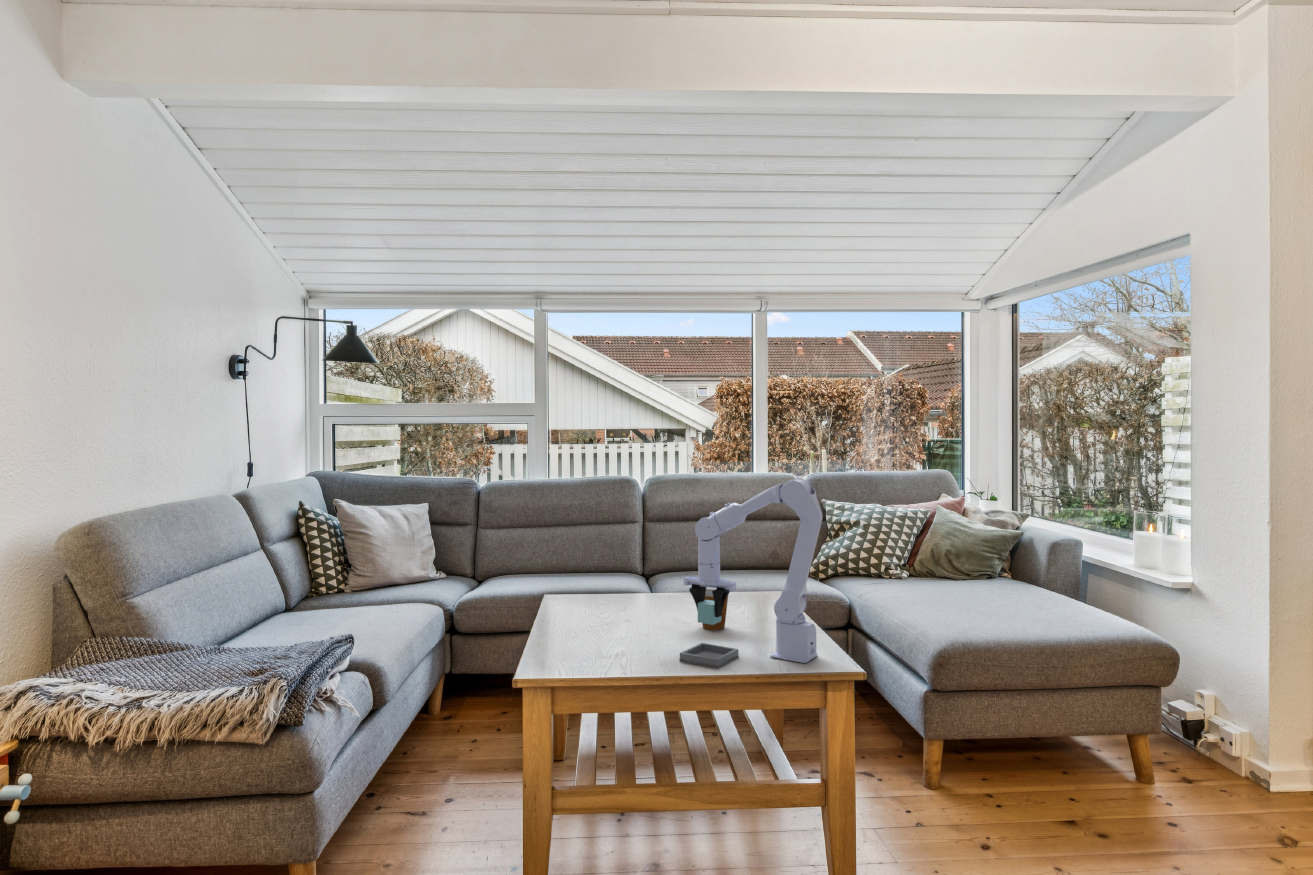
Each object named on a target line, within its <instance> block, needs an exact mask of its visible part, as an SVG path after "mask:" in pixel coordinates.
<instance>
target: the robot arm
mask: <svg viewBox="0 0 1313 875" xmlns="http://www.w3.org/2000/svg"><path fill="white" fill-rule="evenodd" d="M818 500H819V499H818V497H817V490H816V489H815V488H814V487H813V486H812V485H811V483H810V481H808V480H806V479H804V478H795V479H792V480H791V479H790V480H787V481H785V482H784V483H780V484H777V485H774V486H772V487H769V488H767V489H765V490H764V491H762V492H761V493H758V494H757V495H755V496H753V497H752V498H750V499H748V500H746V501H744V502H743V503H741V504H740V503H738V502H732V503H731V502H727V503H725V504H724V507H722V508H721V509H719V510H717V511H715V512H714V511H711V512H709V516H706V517H701V518H700V519H699V520H698V521H697V522H696V523H695V526H694V532H695V535H696V536H697V568H698V570H697V574H698V577H697V576H695V577H693V576H685V577H683V586H691V587H690V588H689V591H688V592H689V593H690V595H691V596H692V599H693V601H694V604H695V606H696V611H697V612H698V603H699V602H702V601H705V593H706V588H707V587H710V588H717V590H713V591H712V593H713V597H714V604H715V617H720V616H721V614H722V609H723V605H724V602H725V600H726V598H727V595H728V596H729V594H730V592H733V591H735V590H736V588H737V586H736V585H737V584H736V581H730V580H726V579H721V545H720V542H721V541H720V538H721V537H720V536H721V535H722V534H725V533H727V532H728V531H730V530H732V529H734V528H737V527H738V526H740V525H741V524H744V523H745V522H746V519H747V516H748V515H749V514H751V513H754V512H756V511H758V510H760V509H763V508H764V507H766V506H768V505H770V504H772V503H773V504H782V503H784V504H785V505H787V506H788V507H789V508H790V509H792V510H793V511H794V512H795V513H796V515H797V517H798V518H799V520H800V525H799V529H798V533H797V536H796V541H795V544H794V549H793V552H792V558H791V562H790V564H789V569H788V573H787V577H786V580H785V584H784V586H783V588H782V590H781V594H780V596H779V598H778V599H777V600H776V601H775V603H774V605H773V606H774V607H773V610H774V614H775V616H776V618H775V628H776V629H775V631H776V632H775V633H776V634H775V635H776V639H775V640H776V642H775V643H776V651H775V652H773V653H771V654H770V655H769V657H770V658H775V659H778V660H779V659H780V660H785V661H791V662H797V663H803V664H807V663H809V662H810V661H811V660H812V659H815V658H816V657H817V656H818V653H817V628H816V625H815V624H814V623H811V622H808V621H807V619H806V617H805V615H804V611H806V609H807V605H808V604H807V597H806V594H807V582H808V578H809V574H810V570H811V566H812V561H813V558H814V553H815V550H816V547H817V542H818V538H819V533H820V531H821V526H822V522H823V513H822V509H821V505H820V503H819V501H818ZM713 585H714V586H713Z"/></svg>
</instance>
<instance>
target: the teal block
mask: <svg viewBox="0 0 1313 875" xmlns="http://www.w3.org/2000/svg"><path fill="white" fill-rule="evenodd" d="M718 622H721V616H720V617H715V604H714V601H711V600H705V601H702V602H699V603H698V611H697V623H700V624H702V623H705V624H711V625H714V624H716V623H718Z"/></svg>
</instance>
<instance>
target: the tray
mask: <svg viewBox="0 0 1313 875" xmlns="http://www.w3.org/2000/svg"><path fill="white" fill-rule="evenodd" d="M738 658H739V649H738V648H733V647H727V646H722V645H716V644H711V643H705V642H700V643H699V644H696V645H693V646H692V647H690V648H688V649H686V650H683V651H681V652H679V662H682V663H687V664H693V665H697V666H703V667H707V668H713V669H719V668H721V667H723V666H725V665H727V664H729V663H730V662H733V661H734V660H736V659H738Z"/></svg>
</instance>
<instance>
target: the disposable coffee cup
mask: <svg viewBox="0 0 1313 875" xmlns="http://www.w3.org/2000/svg"><path fill="white" fill-rule="evenodd" d="M713 586H714V585H713ZM713 590H717V588H710V587H707V588H706V593H705V600H711V601H714V597H713V593H712V591H713ZM728 598H729V594H728V595H727V598H726V600H725V602H724V605H723V609H722V614H721V622H718V623H716V624H714V625H711V624H705V623H701V625H702V628H703V629H704V630H706V629H707V631H721V629H722V630H724V629H725V628H726V627H725V626H726V619H727V617H726V616H727V608H728V601H729V599H728Z"/></svg>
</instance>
